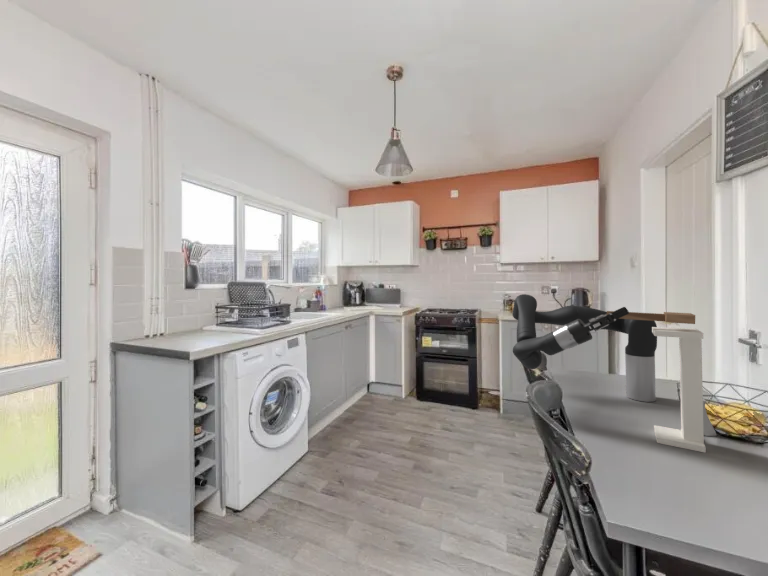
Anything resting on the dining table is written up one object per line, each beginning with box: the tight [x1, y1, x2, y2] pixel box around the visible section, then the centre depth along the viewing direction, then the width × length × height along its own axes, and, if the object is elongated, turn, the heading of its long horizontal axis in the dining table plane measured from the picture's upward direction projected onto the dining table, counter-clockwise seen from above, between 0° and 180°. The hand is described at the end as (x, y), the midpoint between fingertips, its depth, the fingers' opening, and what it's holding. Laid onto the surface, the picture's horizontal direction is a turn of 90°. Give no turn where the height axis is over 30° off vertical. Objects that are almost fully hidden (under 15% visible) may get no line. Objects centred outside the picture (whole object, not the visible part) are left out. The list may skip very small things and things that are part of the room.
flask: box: [703, 398, 717, 437], centre depth 99 cm, size 7×7×10 cm
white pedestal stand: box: [652, 326, 707, 454], centre depth 94 cm, size 10×10×32 cm
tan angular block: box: [606, 310, 696, 325], centre depth 97 cm, size 7×20×2 cm, turn 54°
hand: (626, 309), depth 100 cm, fingers closed on tan angular block, 2 cm apart
